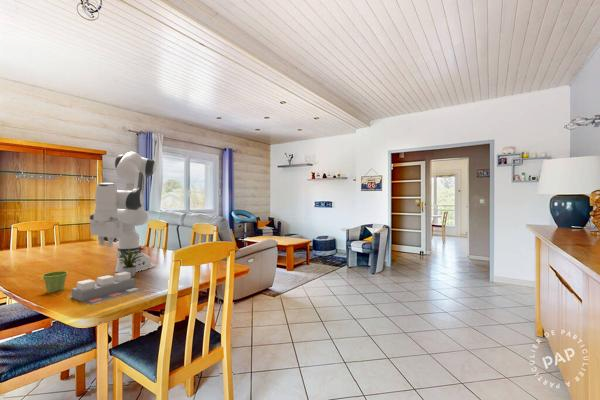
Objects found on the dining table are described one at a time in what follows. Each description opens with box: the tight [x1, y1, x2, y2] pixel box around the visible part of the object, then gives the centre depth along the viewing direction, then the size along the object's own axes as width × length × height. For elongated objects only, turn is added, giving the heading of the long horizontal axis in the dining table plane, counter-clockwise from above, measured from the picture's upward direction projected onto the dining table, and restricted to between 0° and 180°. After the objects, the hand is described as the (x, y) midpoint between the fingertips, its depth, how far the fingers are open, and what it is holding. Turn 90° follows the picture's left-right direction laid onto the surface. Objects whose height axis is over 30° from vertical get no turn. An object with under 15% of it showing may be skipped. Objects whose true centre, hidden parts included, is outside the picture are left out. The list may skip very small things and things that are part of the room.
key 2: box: [114, 272, 132, 282], centre depth 140 cm, size 5×5×5 cm
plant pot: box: [41, 270, 69, 294], centre depth 135 cm, size 9×9×9 cm
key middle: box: [96, 274, 115, 286], centre depth 133 cm, size 5×5×5 cm
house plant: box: [117, 250, 142, 277], centre depth 159 cm, size 14×14×16 cm
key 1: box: [76, 278, 96, 291], centre depth 126 cm, size 5×5×5 cm
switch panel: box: [67, 277, 145, 306], centre depth 132 cm, size 23×20×5 cm
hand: (105, 245), depth 132 cm, fingers open, 5 cm apart
